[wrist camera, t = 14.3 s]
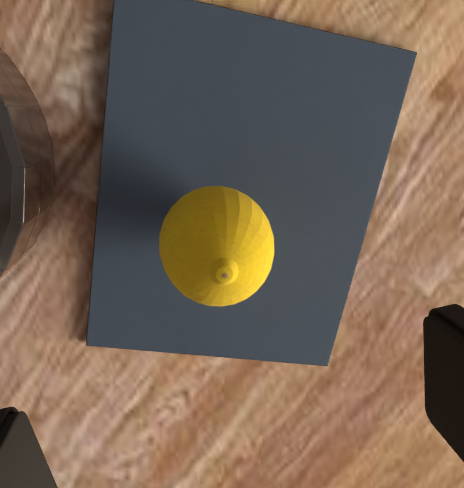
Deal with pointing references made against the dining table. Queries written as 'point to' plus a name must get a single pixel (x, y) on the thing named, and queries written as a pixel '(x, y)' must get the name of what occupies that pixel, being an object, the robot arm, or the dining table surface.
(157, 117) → the napkin
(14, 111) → the pan
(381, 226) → the dining table surface
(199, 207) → the lemon
